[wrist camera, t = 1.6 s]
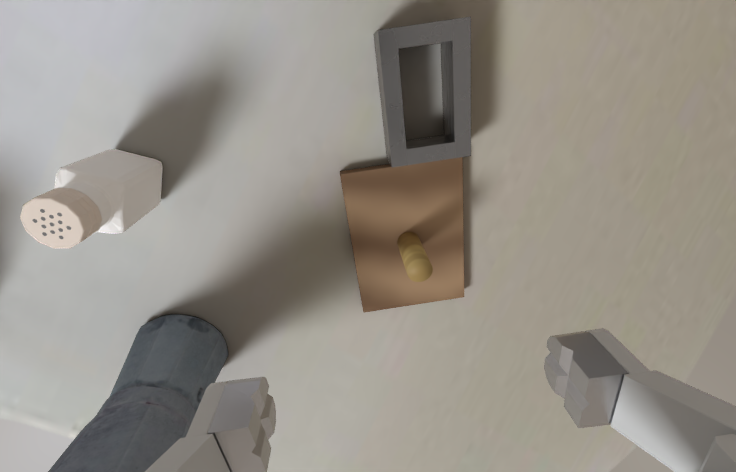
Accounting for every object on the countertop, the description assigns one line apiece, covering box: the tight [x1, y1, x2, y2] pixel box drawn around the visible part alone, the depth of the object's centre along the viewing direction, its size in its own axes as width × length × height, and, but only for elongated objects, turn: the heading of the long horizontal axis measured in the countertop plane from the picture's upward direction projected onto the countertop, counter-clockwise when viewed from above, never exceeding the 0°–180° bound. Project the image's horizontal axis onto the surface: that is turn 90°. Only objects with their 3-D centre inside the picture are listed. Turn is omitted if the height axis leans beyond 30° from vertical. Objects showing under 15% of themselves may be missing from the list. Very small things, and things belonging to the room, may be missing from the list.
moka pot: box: [48, 314, 228, 472], centre depth 27 cm, size 10×15×20 cm, turn 115°
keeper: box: [340, 157, 464, 312], centre depth 30 cm, size 14×10×6 cm
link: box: [374, 17, 471, 168], centre depth 26 cm, size 9×6×3 cm, turn 8°
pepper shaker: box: [20, 149, 163, 248], centre depth 24 cm, size 4×4×10 cm
